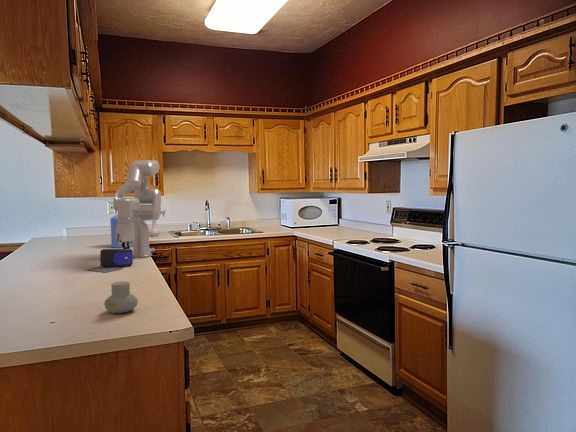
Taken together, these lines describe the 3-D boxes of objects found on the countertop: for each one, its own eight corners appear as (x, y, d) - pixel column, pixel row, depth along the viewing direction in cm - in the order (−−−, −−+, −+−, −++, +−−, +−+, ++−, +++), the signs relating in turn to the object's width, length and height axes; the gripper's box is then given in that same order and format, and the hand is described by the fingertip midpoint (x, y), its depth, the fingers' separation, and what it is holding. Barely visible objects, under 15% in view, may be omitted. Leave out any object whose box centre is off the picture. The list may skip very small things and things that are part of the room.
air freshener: (101, 311, 153) (100, 283, 152) (122, 306, 160) (121, 279, 159) (120, 316, 147) (119, 287, 146) (141, 310, 154) (140, 282, 153)
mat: (101, 266, 238) (101, 265, 237) (122, 269, 230) (122, 268, 230) (84, 270, 228) (84, 269, 228) (105, 272, 220) (105, 272, 220)
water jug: (127, 248, 305) (126, 208, 303) (106, 248, 308) (105, 208, 306) (138, 245, 321) (137, 206, 319) (118, 244, 323) (117, 206, 321)
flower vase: (168, 236, 375) (167, 206, 373) (145, 237, 366) (144, 207, 364) (164, 234, 386) (163, 206, 384) (142, 236, 377) (141, 206, 376)
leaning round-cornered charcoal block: (99, 267, 230) (99, 249, 230) (100, 266, 235) (100, 249, 234) (132, 266, 236) (132, 249, 235) (132, 265, 240) (132, 248, 240)
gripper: (131, 220, 249) (132, 252, 250) (109, 222, 236) (110, 255, 237) (140, 220, 246) (141, 252, 247) (119, 222, 232) (120, 256, 234)
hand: (126, 254), depth 242 cm, fingers closed
